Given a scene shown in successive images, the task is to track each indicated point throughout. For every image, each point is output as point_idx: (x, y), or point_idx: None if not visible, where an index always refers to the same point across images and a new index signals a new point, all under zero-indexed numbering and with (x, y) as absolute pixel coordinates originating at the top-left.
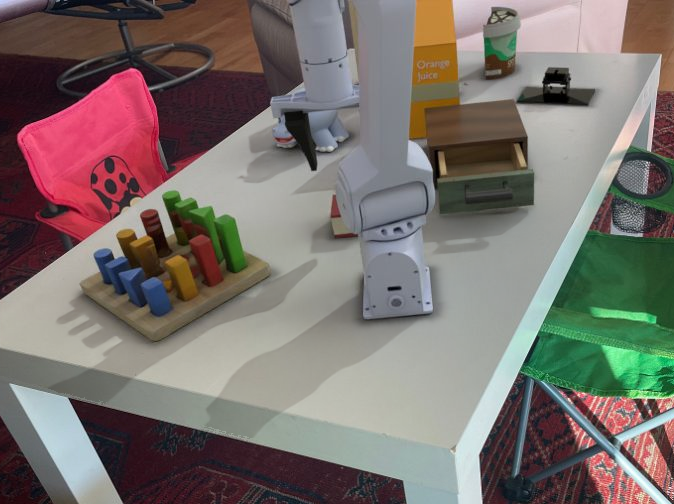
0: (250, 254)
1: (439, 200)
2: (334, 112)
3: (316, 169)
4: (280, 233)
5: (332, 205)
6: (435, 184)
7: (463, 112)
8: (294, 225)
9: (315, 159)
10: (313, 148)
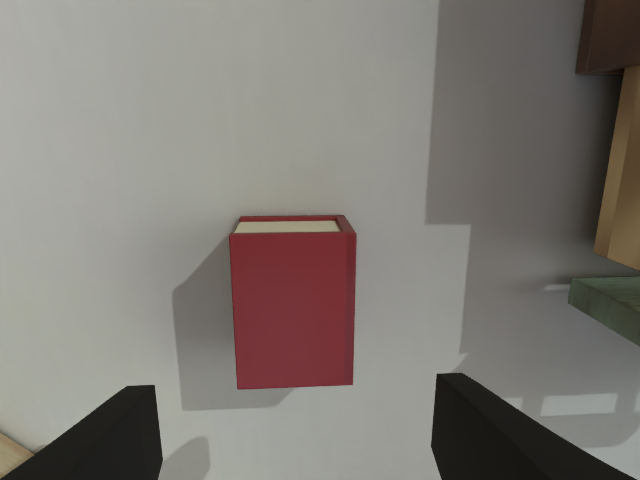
0: (3, 475)
1: (602, 322)
2: None
3: (160, 462)
4: (62, 289)
5: (237, 322)
6: (595, 73)
7: None
8: (99, 246)
9: (142, 465)
10: (107, 476)
